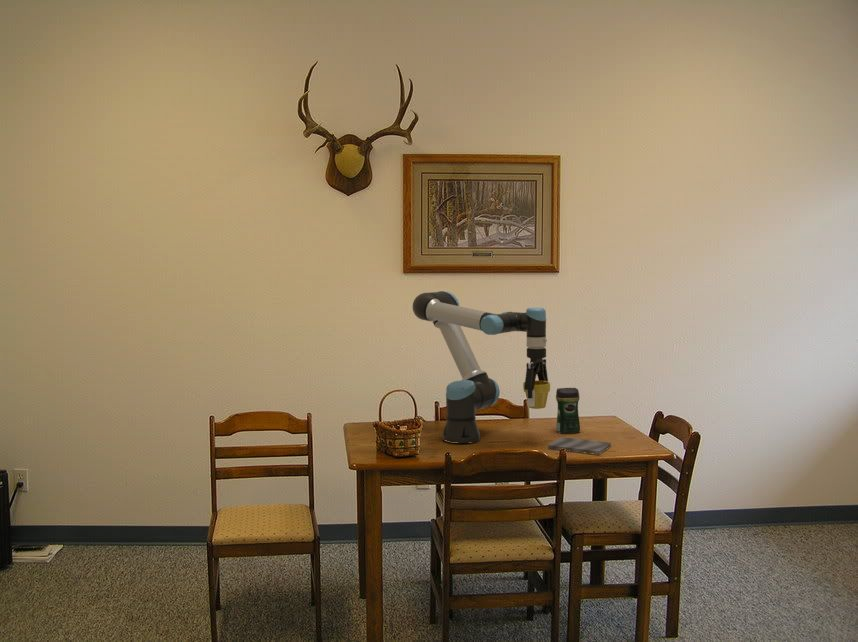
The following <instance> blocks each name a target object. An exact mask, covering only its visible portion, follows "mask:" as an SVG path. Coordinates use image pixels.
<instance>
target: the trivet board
mask: <svg viewBox="0 0 858 642" xmlns="http://www.w3.org/2000/svg"><path fill="white" fill-rule="evenodd" d="M610 446H611V447H612V442H607V441H601V440H600V441H597V440H592V439H583V438H573V437H564V436H561V437H558V438H557V439H555V440H554V441H552V442H551V443H549V444H547V450H553V451H554V450H555V451H560V449H562V448H563V449H566V450H568V451H569V450H570V451H577V452H586V453H594V454H600V453H602V452H603V451H604V452H606V451H607V450H608V449H610V448H611V447H610ZM609 447H610V448H609ZM607 448H608V449H607ZM606 449H607V450H606ZM605 450H606V451H605ZM568 451H567V452H568ZM604 452H603V453H604ZM603 453H602V454H603ZM600 455H601V454H600Z"/></svg>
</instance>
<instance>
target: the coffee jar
mask: <svg viewBox="0 0 858 642" xmlns="http://www.w3.org/2000/svg"><path fill="white" fill-rule="evenodd" d="M579 391H580V390H579V389H578V388H576V387H562V388H561V387H560V388H557V389H556V393H555V400H556V403H557V414H556V416H557V417H556V427H555V428H556V429H555V430H556V432H557V433H559V432H560V434H565V433H568V434H577V433H580V432H581V423H580V417H579V402H580V392H579Z"/></svg>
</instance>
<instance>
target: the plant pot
mask: <svg viewBox="0 0 858 642" xmlns="http://www.w3.org/2000/svg"><path fill="white" fill-rule="evenodd" d="M522 386H523V392H524V393H525V397H526V399H527V390H525V388H524V387H525V381H524V382H523V385H522ZM533 390H535V407H530V406H527V407H528V408H529V409H532V410H533V409H536V410H537V409H544V408H546V406H547V401H548V398H549V397H548V396H549V392H550V391H551V382H549V381H548V382H547V381H539V380H536V379H535V384H534V389H533Z"/></svg>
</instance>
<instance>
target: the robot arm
mask: <svg viewBox="0 0 858 642" xmlns="http://www.w3.org/2000/svg"><path fill="white" fill-rule="evenodd" d="M412 312H413V314H414V315H415V316H416V317H417V318H418V320H419V319H420V320H421V321H427V322H432V324H433V325H434V327H435V328H437V329H439V330H440V333H441V335H442V336H443V339H444V341H445V343H446V345H447V348H448V350H449V352H450V354H451V357H452V359H453V361H454V362H455V365H456V368H457V369H458V372H459V373H460V376H461V378H462V379H461V380H456V381H452V382H450V383H448V384H447V386H446V388H445V389H446V390H445V401H446V403H445V404H446V422H445V426H444V429H443V432H442V440H443V439H444V440H447V441H450V442H458V443H469V442H475V443H477V442H476V441H478V442H480V441H479V440H481V432H480V430H479V427H478V423H477V421H476V420H477V419H476V411H480V410H483V409H488V408H489V407H492V406H494V405H496V403H497V402H498V401H499V397H500V394H501V393H500V392H501V391H500V386H499V384H498V383H497V381H496V380H494V379H493V378H490V377H489V375H488V373H487V372H486V371H485V370H482V369H481V367H480V365H479V362H478V360H477V358H476V356H475V354H474V352H473V350H472V348H471V346H470V343H469V342H468V339H467V337H466V335H465V333H464V330H463V329H462V327H465V328H469V329H473V330H477V331H481V332H483V333H484V334H485V335H488V336H495V335H499V334H504V333H505V334H506V333H512V332H522V333H523V332H526V347H527V348H526V358H527V359H529V361H530V362H526V364H525V365H526V372H525V378H524V379H525V380H524V382H525V387H524V388H525V390H527V398H526V401H527V402H526V406H527V407H528V406H530V407H535V390H533V389H534V384H535V381H536V379H538V380H537V381H547V382H549V378H548V371H547V359H546V358H547V348H546V347H547V341H548V340H547V313H546V308H543V307H527V308H526V312H518V311H517V312H516V311H503V312H501V313H492V312H487V311H483V310H479V309H474V308H469V307H463V306H460V302H459V299H458V298H457V296H456V295H455V294H453V293H452V292H449V291H443V290H441V291H440V290H439V291H433V292H423V293H420V294H418V295H417V296H416V297H415V298H414V300H413V301H412Z"/></svg>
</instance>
